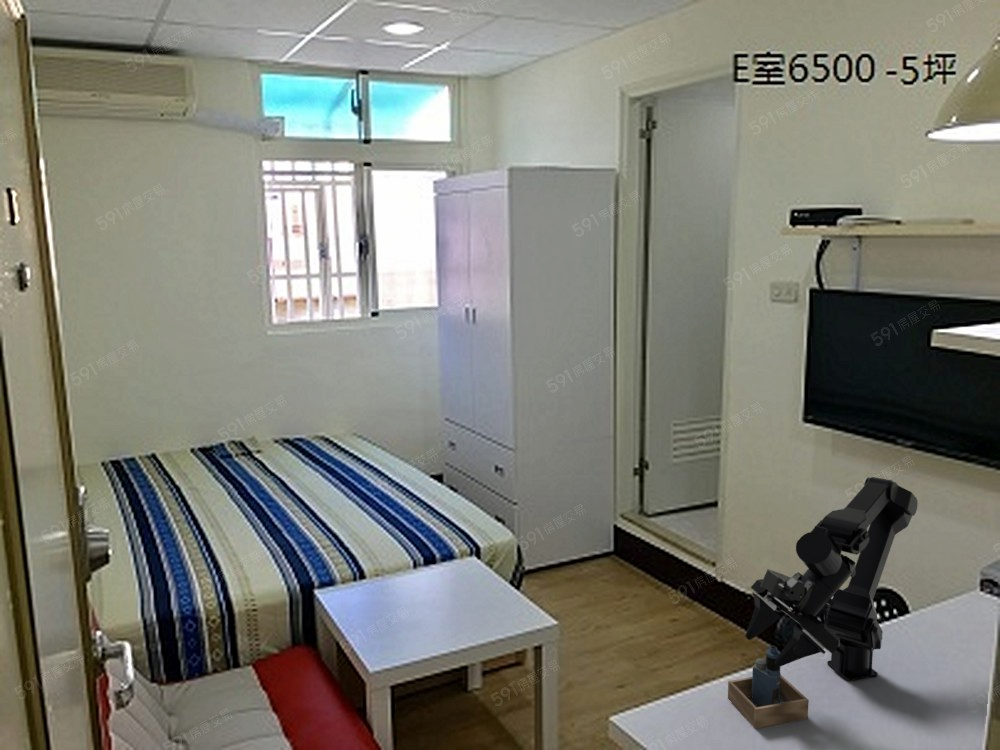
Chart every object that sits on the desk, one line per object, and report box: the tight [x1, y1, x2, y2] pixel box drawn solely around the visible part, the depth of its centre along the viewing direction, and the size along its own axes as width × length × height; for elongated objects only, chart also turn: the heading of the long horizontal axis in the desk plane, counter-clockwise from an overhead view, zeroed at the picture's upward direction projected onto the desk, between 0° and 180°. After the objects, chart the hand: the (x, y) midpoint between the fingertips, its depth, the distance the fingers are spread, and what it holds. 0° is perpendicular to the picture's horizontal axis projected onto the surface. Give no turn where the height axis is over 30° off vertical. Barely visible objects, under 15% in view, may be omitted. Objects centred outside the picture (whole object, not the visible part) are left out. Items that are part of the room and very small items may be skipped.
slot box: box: [727, 674, 810, 729], centre depth 137 cm, size 10×9×4 cm
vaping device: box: [751, 645, 782, 707], centre depth 136 cm, size 3×5×12 cm, turn 30°
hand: (761, 651), depth 135 cm, fingers open, 9 cm apart
